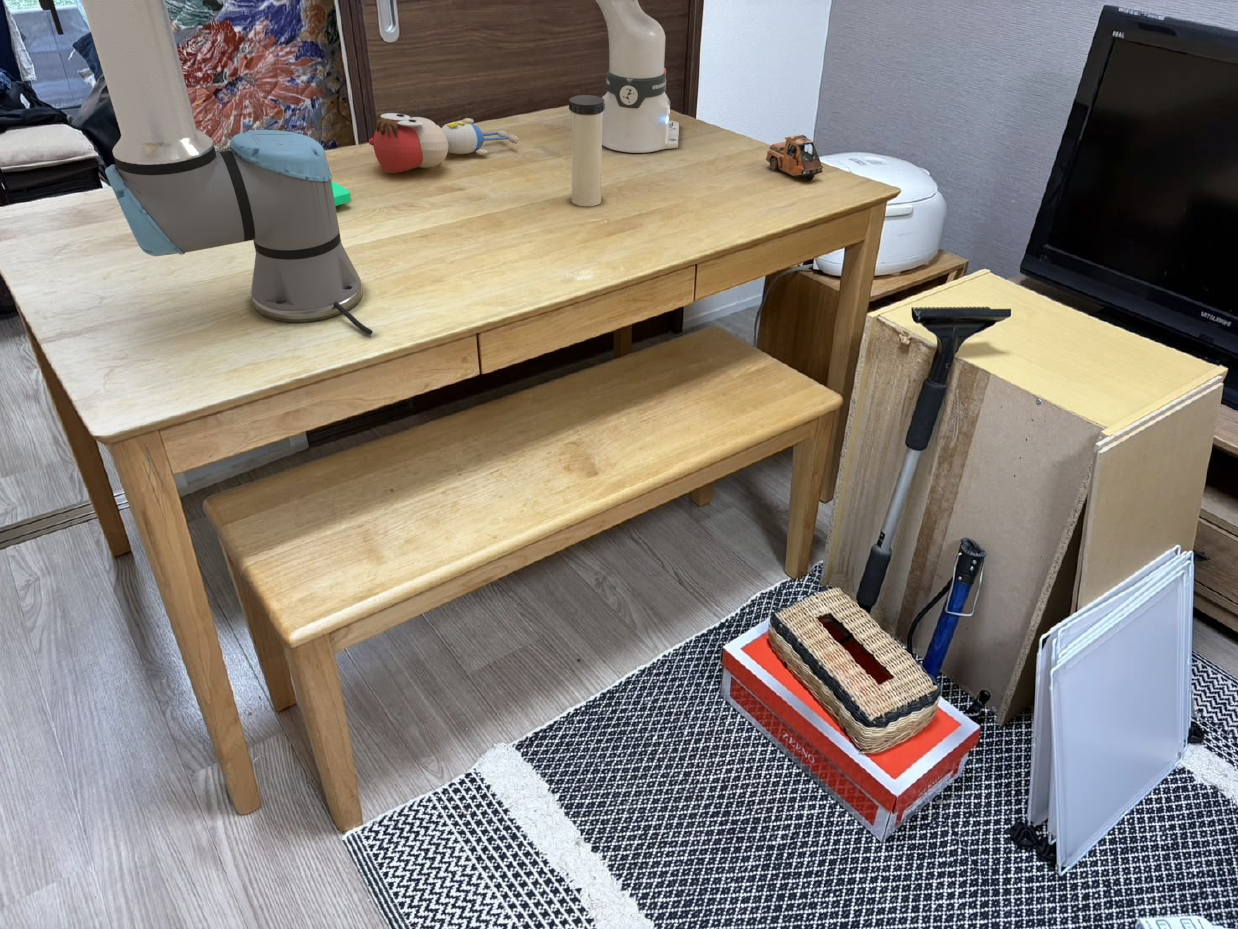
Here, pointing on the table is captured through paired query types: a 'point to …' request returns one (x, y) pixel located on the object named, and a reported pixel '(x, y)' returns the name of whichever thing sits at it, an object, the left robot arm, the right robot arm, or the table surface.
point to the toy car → (795, 157)
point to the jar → (586, 158)
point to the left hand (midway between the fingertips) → (108, 29)
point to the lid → (586, 104)
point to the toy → (425, 141)
